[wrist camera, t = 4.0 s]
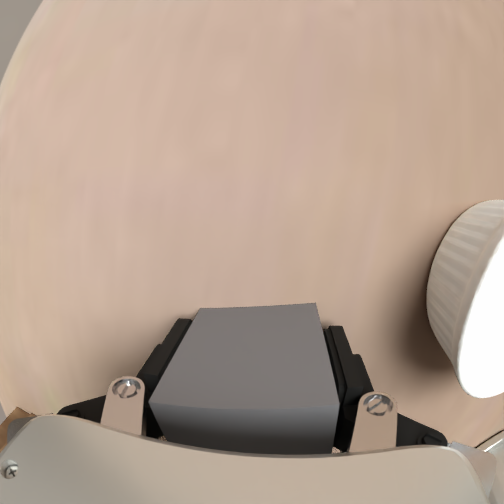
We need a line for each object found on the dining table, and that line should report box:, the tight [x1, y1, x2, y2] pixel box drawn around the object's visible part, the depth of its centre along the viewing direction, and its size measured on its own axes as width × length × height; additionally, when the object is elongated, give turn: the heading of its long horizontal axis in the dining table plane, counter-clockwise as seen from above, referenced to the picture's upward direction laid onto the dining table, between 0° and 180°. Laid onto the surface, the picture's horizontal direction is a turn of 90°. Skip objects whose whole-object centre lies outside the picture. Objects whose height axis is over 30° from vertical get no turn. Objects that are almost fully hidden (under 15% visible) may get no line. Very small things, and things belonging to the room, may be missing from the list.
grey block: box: [149, 303, 339, 455], centre depth 11 cm, size 5×13×6 cm, turn 6°
